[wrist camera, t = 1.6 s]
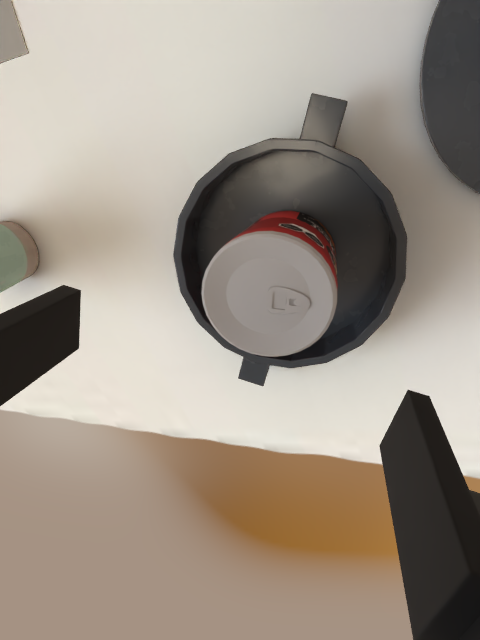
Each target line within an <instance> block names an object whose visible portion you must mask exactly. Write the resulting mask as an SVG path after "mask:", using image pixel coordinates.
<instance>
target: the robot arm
mask: <svg viewBox="0 0 480 640" xmlns="http://www.w3.org/2000/svg"><path fill="white" fill-rule="evenodd" d="M80 297H81V290H78V289H75V288H72V287H68V286H65V285H63V286H60V287H58V288H56V289H54V290H52V291H50V292H47V293H45V294H43V295H41V296H39V297H36V298H34V299H32V300H30V301H28V302H25V303H23V304H21V305H19V306H17V307H15V308H12V309H10V310H8V311H6V312H4V313H1V314H0V406H1V405H3V404H4V403H5V402H7V401H8V400H9V399H11V398H12V397H13V396H15V395H16V394H18V393H19V392H20V391H22V390H23V389H24V388H26V387H27V386H28V385H30V384H31V383H32V382H34V381H35V380H37V379H38V378H39V377H41V376H42V375H43V374H45V373H46V372H47V371H49V370H50V369H51V368H53V367H54V366H56V365H57V364H58V363H60V362H61V361H62V360H64V359H65V358H66V357H68V356H69V355H70V354H72V353H73V352H75V351H76V350H77V349H79V329H80ZM380 451H381V457H382V463H383V468H384V474H385V479H386V485H387V491H388V497H389V503H390V508H391V514H392V519H393V526H394V531H395V536H396V543H397V548H398V554H399V560H400V566H401V571H402V577H403V583H404V588H405V594H406V600H407V605H408V611H409V617H410V622H411V628H412V634H413V640H480V493H477V492H474V491H471V490H469V489H468V486H467V484H466V482H465V479H464V477H463V474H462V472H461V470H460V467H459V465H458V463H457V460H456V458H455V456H454V453H453V451H452V449H451V446H450V444H449V442H448V439H447V437H446V435H445V432H444V430H443V427H442V425H441V423H440V420H439V418H438V416H437V413H436V411H435V409H434V406H433V404H432V402H431V399H430V397H429V396H427V395H423V394H420V393H417V392H413V391H410V390H408V391H407V393H406V395H405V397H404V399H403V400H402V402H401V404H400V406H399V408H398V410H397V412H396V414H395V416H394V418H393V420H392V422H391V424H390V426H389V428H388V430H387V432H386V434H385V436H384V438H383V440H382V442H381V444H380Z"/></svg>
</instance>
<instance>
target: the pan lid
mask: <svg viewBox="0 0 480 640" xmlns="http://www.w3.org/2000/svg"><path fill="white" fill-rule="evenodd" d="M420 98H421V108H422V113H423V119H424V124H425V127H426V130H427V132H428V135H429V138H430V141H431V143H432V145H433V147H434V149H435V151H436V152H437V154H438V156H439V158H440V159H441V160H442V162H443V163H444V164H445V166H446V167H447V168H448V170H449V171H450V172H451V173H452V174H453V175H454V176H455V177H456V178H457V179H458V180H460V181H461V182H462V183H463V184H464V185H466V186H467V187H469V188H470V189H472V190H473V191H475V192H476V193H478V194H480V0H439V2H438V4H437V7H436V9H435V12H434V14H433V17H432V20H431V23H430V26H429V30H428V33H427V37H426V40H425V45H424V50H423V56H422V61H421V73H420Z"/></svg>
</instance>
